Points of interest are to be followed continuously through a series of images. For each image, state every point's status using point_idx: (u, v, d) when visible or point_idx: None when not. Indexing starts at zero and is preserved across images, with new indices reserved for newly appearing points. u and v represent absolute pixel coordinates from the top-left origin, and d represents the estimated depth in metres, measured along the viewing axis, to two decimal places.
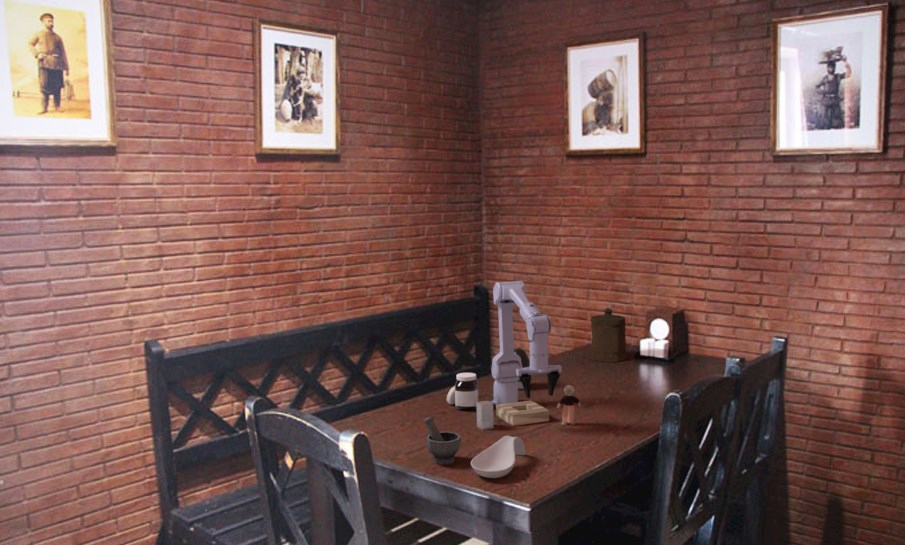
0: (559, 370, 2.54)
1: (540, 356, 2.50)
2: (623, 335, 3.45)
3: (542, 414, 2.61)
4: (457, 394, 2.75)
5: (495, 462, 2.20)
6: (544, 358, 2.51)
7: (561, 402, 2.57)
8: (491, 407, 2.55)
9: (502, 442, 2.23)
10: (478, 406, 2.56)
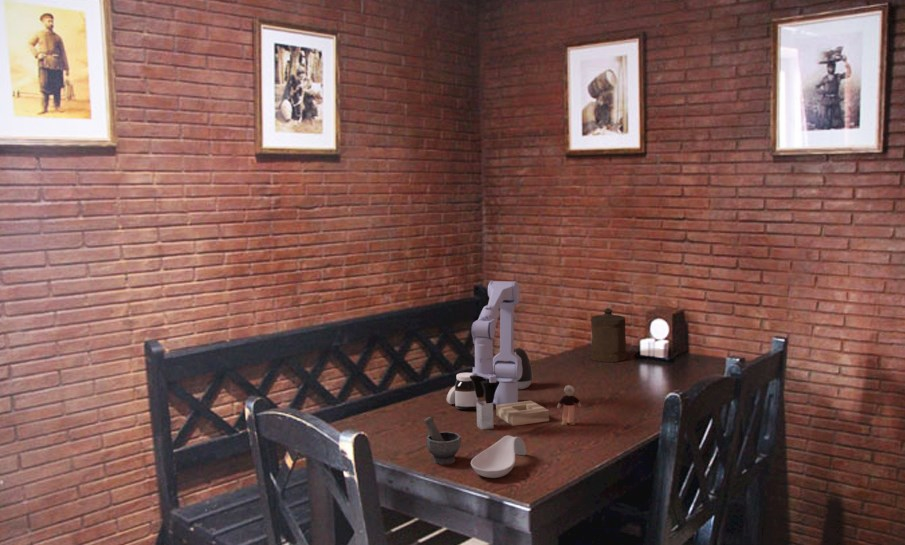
0: (489, 380, 2.49)
1: (475, 359, 2.54)
2: (623, 335, 3.45)
3: (542, 414, 2.61)
4: (457, 394, 2.75)
5: (495, 461, 2.20)
6: (477, 362, 2.53)
7: (561, 402, 2.57)
8: (491, 407, 2.55)
9: (502, 441, 2.23)
10: (478, 406, 2.56)
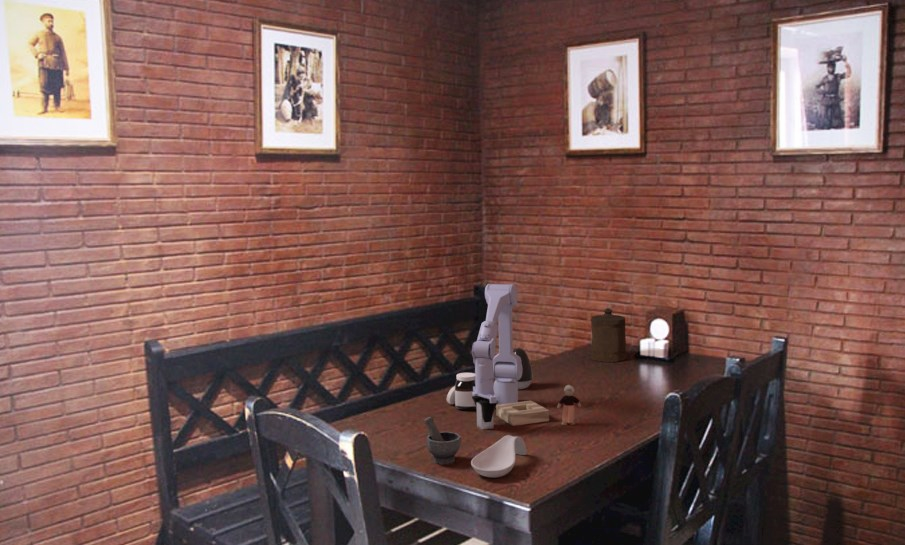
0: (489, 400, 2.49)
1: (475, 379, 2.55)
2: (623, 335, 3.45)
3: (542, 414, 2.61)
4: (457, 394, 2.75)
5: (495, 461, 2.20)
6: (477, 382, 2.53)
7: (561, 402, 2.57)
8: None
9: (502, 441, 2.24)
10: (478, 406, 2.56)
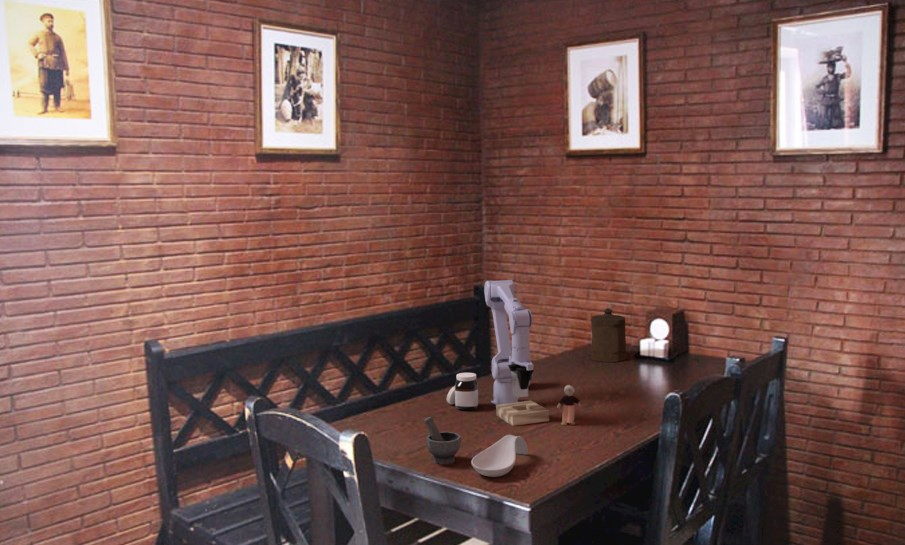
0: (526, 368, 2.57)
1: (512, 347, 2.63)
2: (623, 335, 3.45)
3: (542, 414, 2.61)
4: (457, 394, 2.75)
5: (496, 460, 2.20)
6: (514, 350, 2.61)
7: (561, 402, 2.57)
8: None
9: (503, 441, 2.24)
10: (513, 375, 2.63)
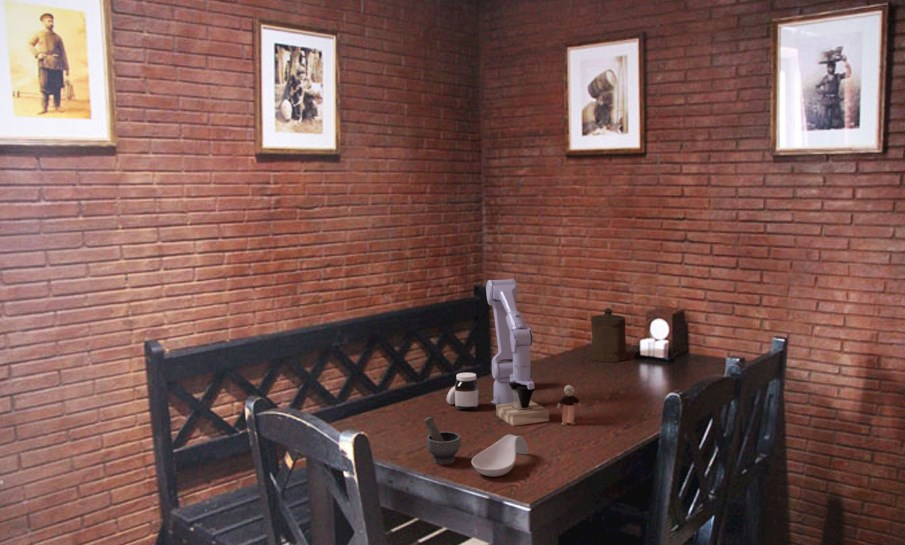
0: (527, 386, 2.58)
1: (513, 366, 2.63)
2: (623, 335, 3.45)
3: (542, 414, 2.61)
4: (457, 394, 2.75)
5: (496, 460, 2.21)
6: (515, 369, 2.62)
7: (561, 402, 2.57)
8: None
9: (504, 440, 2.24)
10: (514, 393, 2.64)
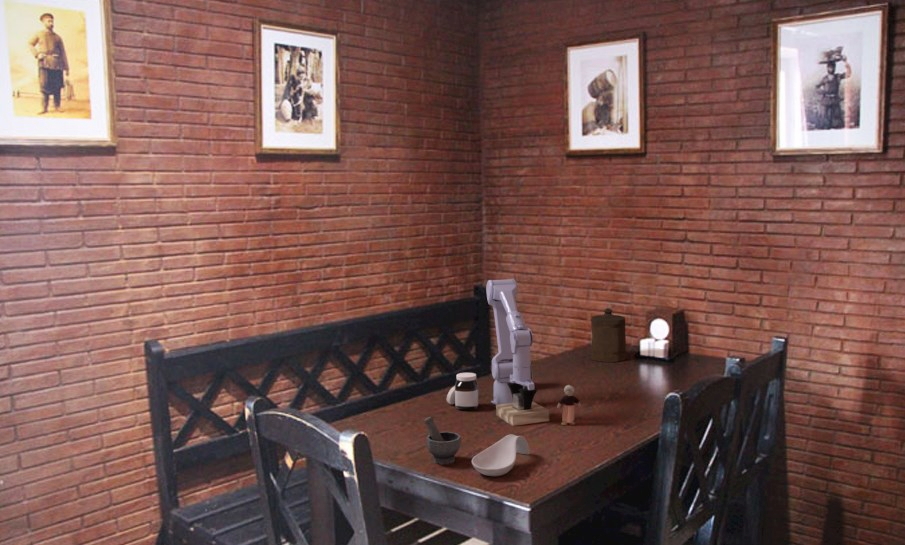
0: (527, 387, 2.58)
1: (513, 367, 2.63)
2: (623, 335, 3.45)
3: (542, 414, 2.61)
4: (457, 394, 2.75)
5: (497, 460, 2.21)
6: (515, 370, 2.62)
7: (561, 402, 2.57)
8: None
9: (504, 440, 2.24)
10: (514, 398, 2.65)
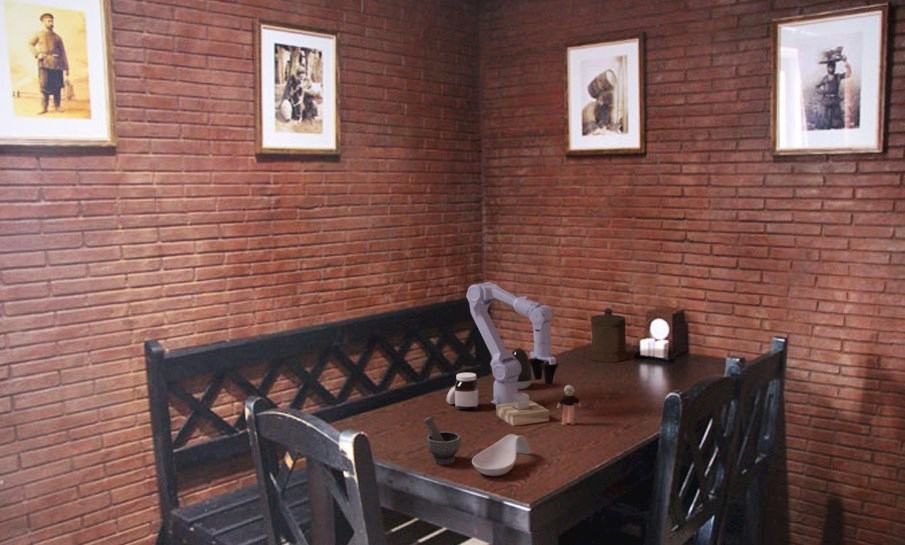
0: (549, 362, 2.64)
1: (534, 343, 2.69)
2: (623, 335, 3.45)
3: (542, 414, 2.61)
4: (457, 394, 2.75)
5: (497, 460, 2.21)
6: (536, 345, 2.68)
7: (561, 402, 2.57)
8: (527, 398, 2.64)
9: (505, 440, 2.25)
10: (515, 398, 2.65)
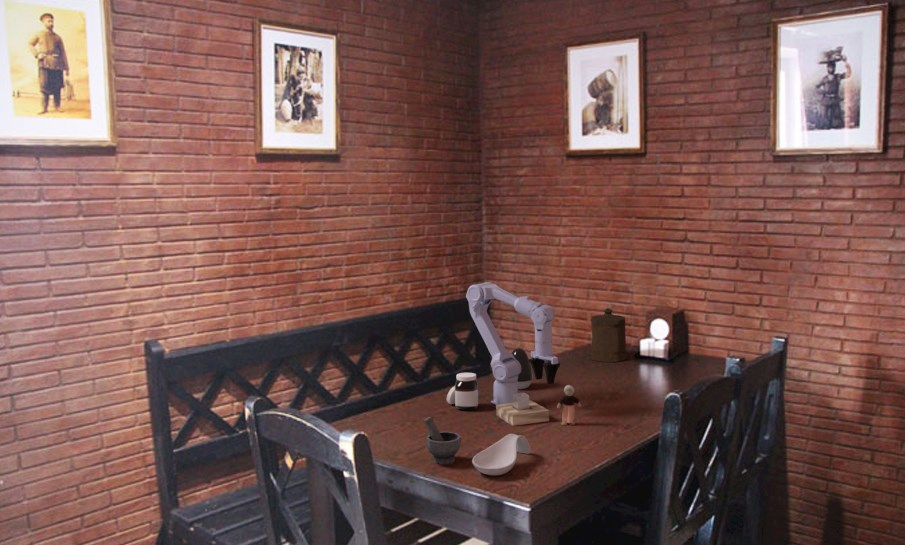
0: (551, 361, 2.64)
1: (535, 342, 2.70)
2: (623, 335, 3.45)
3: (542, 414, 2.61)
4: (457, 394, 2.75)
5: (497, 459, 2.21)
6: (538, 345, 2.68)
7: (561, 402, 2.57)
8: (527, 398, 2.64)
9: (505, 440, 2.25)
10: (514, 398, 2.65)
